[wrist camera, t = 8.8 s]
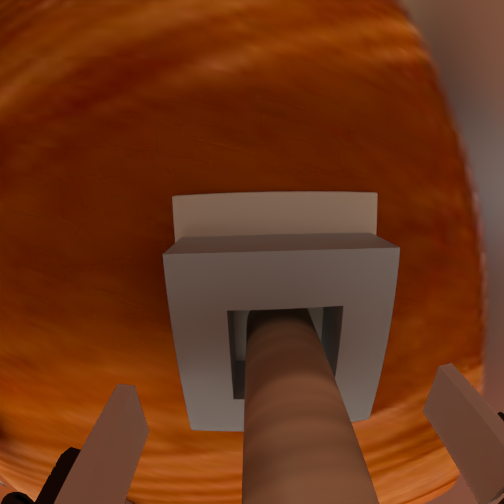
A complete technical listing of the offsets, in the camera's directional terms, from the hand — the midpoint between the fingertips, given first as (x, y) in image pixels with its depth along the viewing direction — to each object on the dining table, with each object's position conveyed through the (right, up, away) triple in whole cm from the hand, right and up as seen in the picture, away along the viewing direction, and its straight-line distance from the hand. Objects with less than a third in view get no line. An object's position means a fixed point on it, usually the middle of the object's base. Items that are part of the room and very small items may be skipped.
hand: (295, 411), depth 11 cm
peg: (0, +2, +8) cm, 8 cm away
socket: (0, +2, +9) cm, 9 cm away
